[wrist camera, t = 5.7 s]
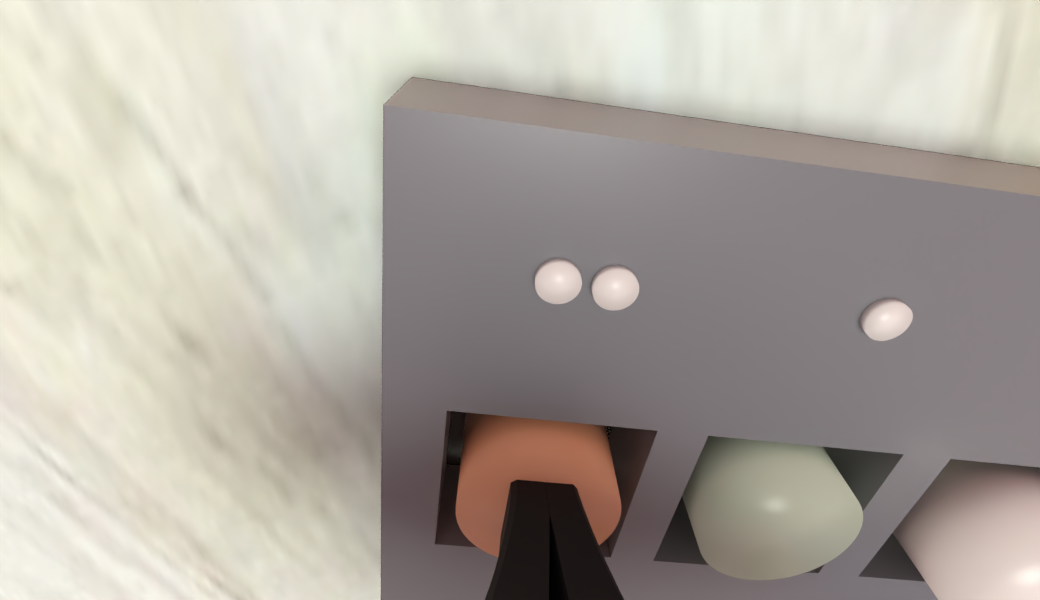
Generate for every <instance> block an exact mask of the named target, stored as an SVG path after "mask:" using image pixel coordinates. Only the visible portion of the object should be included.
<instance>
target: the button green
mask: <svg viewBox="0 0 1040 600" xmlns="http://www.w3.org/2000/svg"><path fill="white" fill-rule="evenodd" d="M682 497H683V500H684V503H685V506H686V510H687V513H688V516H689V519H690V522H691V525H692V528H693V531H694V534H695V537H696V540H697V544H698V547H699V550H700V553H701V555H702V557H703V559H704V560H705V561H706V562H707V563H708V564H709V565H710V566H711V567H712V568H714V569H715V570H717V571H718V572H721V573H723V574H725V575H728V576H731V577H735V578H740V579H746V580H774V579H782V578H787V577H792V576H796V575H799V574H802V573H805V572H808V571H811V570H813V569H816V568H818V567H820V566H822V565H824V564H826V563H828V562H830V561H831V560H833V559H834V558H836V557H837V556H839V555H840V554H841V553H842V552H844V551H845V550H846V549H847V548H848V547H849V546H850V545H851V544H852V542H853V541H854V540H855V539H856V537H857V535H858V534H859V532H860V529H861V527H862V523H863V511H862V507H861V505H860V503H859V501H858V500H857V498H856V497H855V495H854V494H853V492H852V491H851V489H850V487H849V486H848V484H847V483H846V481H845V480H844V478H843V477H842V475H841V474H840V472H839V471H838V469H837V468H836V466H835V465H834V463H833V462H832V460H831V459H830V457H829V456H828V454H827V453H826V451H825V449H824V448H823V447H821V446H810V445H800V444H790V443H779V442H769V441H758V440H748V439H738V438H727V437H717V436H708V438H707V440H706V442H705V445H704V447H703V449H702V452H701V454H700V456H699V458H698V461H697V463H696V465H695V467H694V470H693V472H692V474H691V476H690V479H689V481H688V483H687V485H686V488H685V490H684V492H683V495H682Z"/></svg>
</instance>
